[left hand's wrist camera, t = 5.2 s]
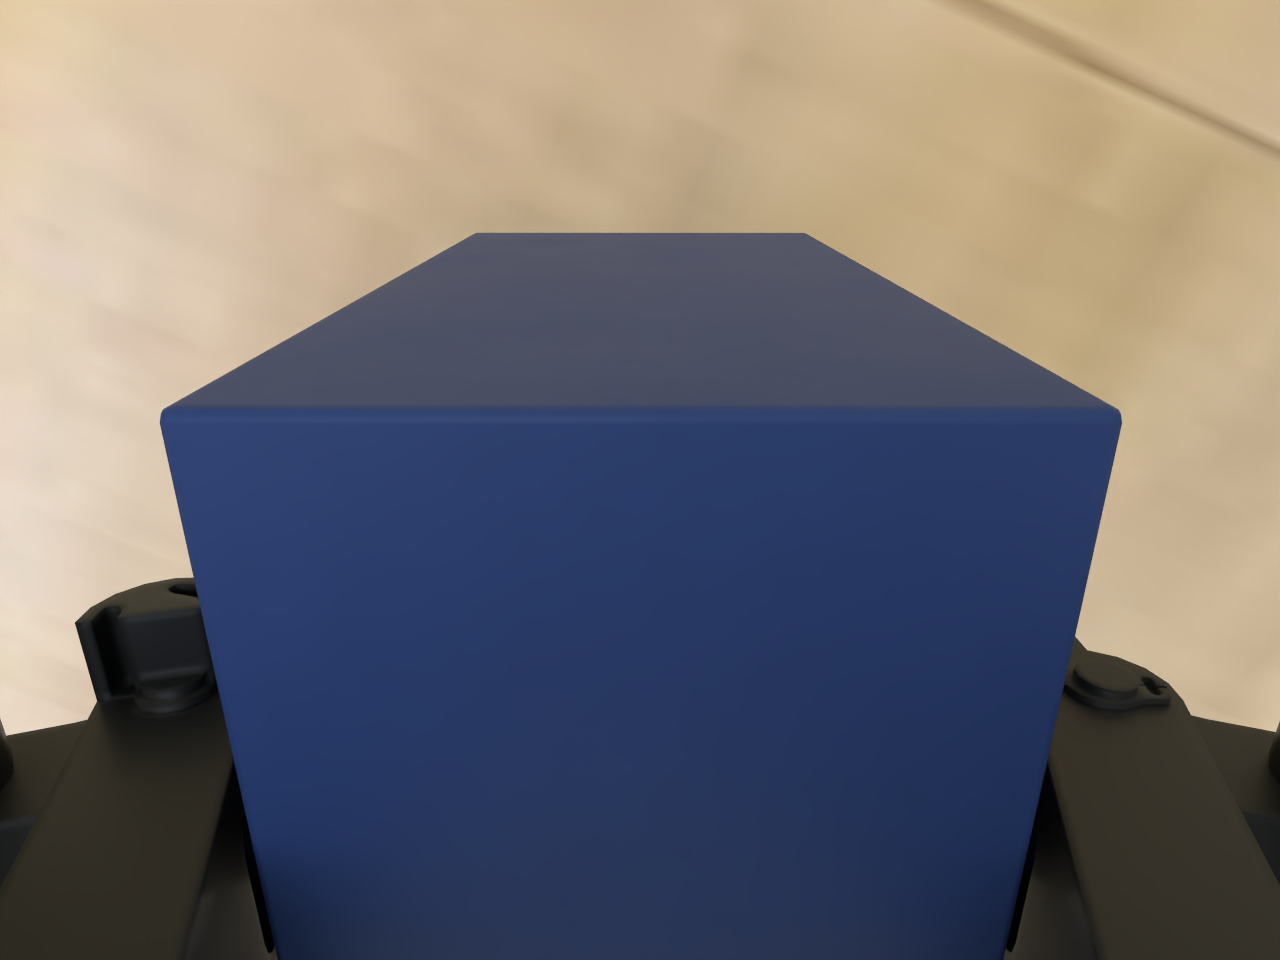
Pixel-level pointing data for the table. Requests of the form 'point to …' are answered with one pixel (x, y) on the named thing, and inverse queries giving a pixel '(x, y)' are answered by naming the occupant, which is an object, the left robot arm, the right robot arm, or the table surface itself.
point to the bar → (640, 605)
